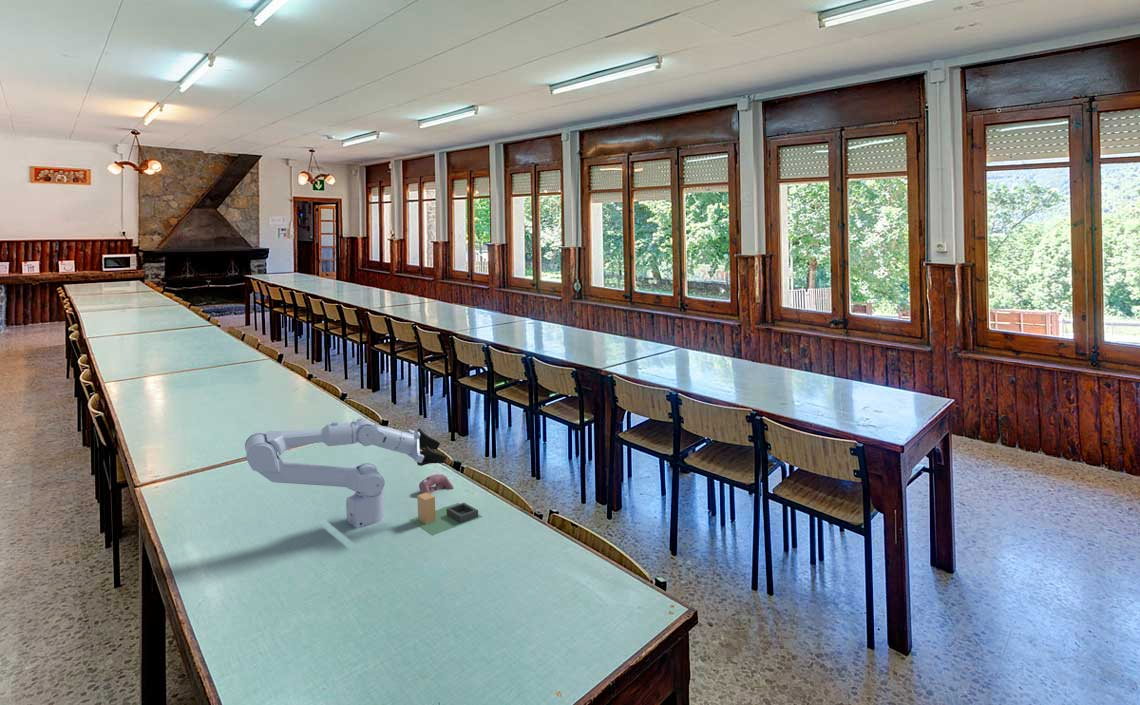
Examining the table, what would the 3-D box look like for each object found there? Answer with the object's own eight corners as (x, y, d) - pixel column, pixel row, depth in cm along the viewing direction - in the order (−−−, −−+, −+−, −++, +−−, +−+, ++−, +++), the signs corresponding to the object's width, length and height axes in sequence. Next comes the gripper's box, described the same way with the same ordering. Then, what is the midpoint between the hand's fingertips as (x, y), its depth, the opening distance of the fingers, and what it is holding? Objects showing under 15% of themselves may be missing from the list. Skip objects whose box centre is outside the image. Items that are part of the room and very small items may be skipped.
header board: (432, 539, 159) (432, 528, 158) (409, 523, 167) (408, 512, 167) (482, 520, 170) (482, 509, 169) (458, 506, 178) (458, 496, 178)
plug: (425, 524, 165) (425, 499, 163) (418, 519, 167) (417, 495, 166) (435, 520, 167) (434, 496, 165) (427, 516, 169) (427, 492, 168)
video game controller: (447, 493, 191) (440, 472, 192) (456, 490, 188) (448, 469, 189) (421, 503, 184) (414, 481, 184) (430, 501, 181) (422, 478, 181)
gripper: (407, 441, 161) (453, 454, 168) (398, 416, 173) (441, 428, 180) (396, 464, 162) (442, 475, 169) (388, 436, 174) (431, 448, 182)
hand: (441, 452), depth 175 cm, fingers open, 7 cm apart
